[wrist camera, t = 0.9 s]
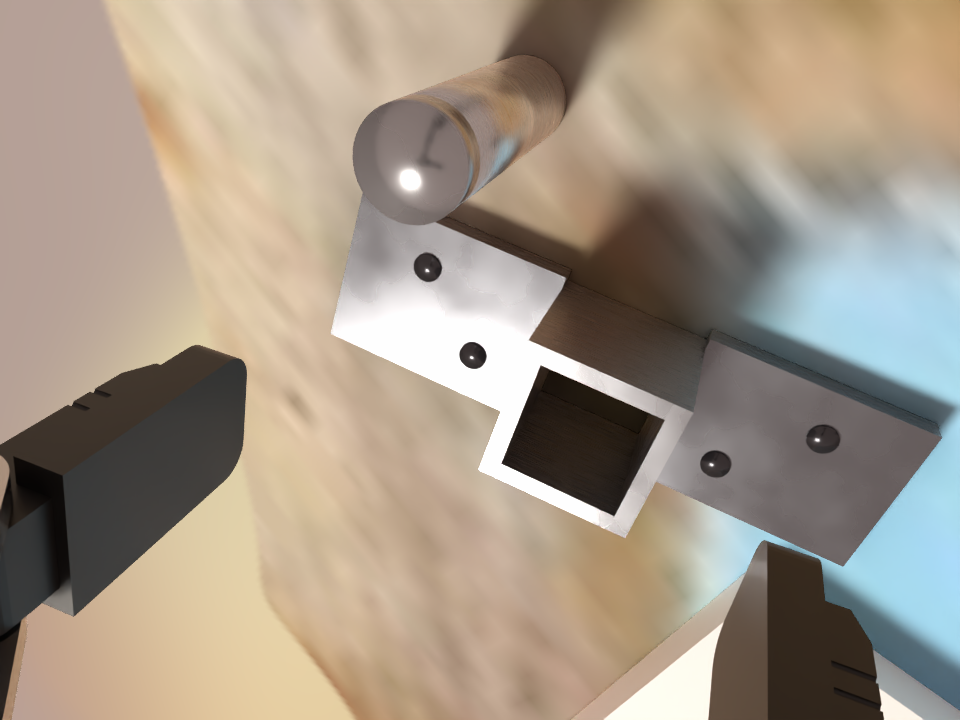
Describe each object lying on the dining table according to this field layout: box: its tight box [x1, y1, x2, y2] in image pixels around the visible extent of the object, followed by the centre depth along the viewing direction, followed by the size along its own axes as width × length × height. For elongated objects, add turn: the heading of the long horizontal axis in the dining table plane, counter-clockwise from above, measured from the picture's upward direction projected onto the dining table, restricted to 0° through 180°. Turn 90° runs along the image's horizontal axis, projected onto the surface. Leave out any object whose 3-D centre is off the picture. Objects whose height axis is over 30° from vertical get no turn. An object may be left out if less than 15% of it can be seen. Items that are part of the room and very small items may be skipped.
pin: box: [353, 55, 566, 225], centre depth 25 cm, size 3×3×11 cm
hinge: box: [331, 193, 942, 566], centre depth 31 cm, size 7×24×6 cm, turn 73°
